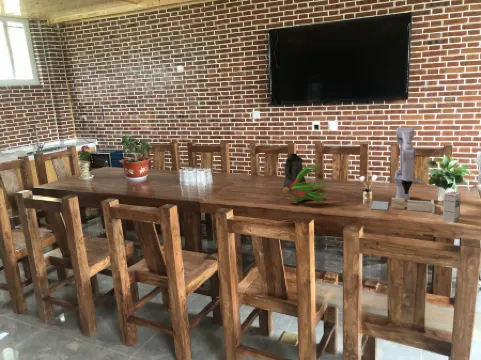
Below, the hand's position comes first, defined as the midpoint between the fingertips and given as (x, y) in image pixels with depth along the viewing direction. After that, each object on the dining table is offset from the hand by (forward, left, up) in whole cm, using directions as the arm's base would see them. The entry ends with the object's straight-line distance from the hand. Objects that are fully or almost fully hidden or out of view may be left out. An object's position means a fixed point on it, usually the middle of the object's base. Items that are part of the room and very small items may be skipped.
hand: (406, 193), depth 225 cm
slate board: (0, -14, -8) cm, 16 cm away
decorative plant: (0, -58, -9) cm, 59 cm away
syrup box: (+16, +22, -9) cm, 28 cm away
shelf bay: (0, +8, -8) cm, 11 cm away
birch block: (0, -4, -9) cm, 10 cm away
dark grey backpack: (-30, -74, -9) cm, 80 cm away
